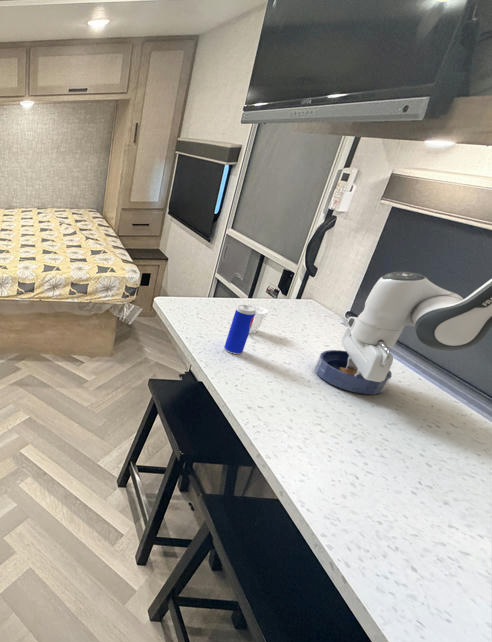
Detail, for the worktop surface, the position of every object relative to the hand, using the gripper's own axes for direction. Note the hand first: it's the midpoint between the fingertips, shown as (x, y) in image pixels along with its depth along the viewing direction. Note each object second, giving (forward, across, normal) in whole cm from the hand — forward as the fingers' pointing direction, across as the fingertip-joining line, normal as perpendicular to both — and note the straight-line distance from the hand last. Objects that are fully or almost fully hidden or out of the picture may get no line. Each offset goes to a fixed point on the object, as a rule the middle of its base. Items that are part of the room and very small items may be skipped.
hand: (352, 376), depth 109 cm
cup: (+2, +23, +22) cm, 32 cm away
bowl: (+2, +2, 0) cm, 3 cm away
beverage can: (+2, +7, +28) cm, 29 cm away
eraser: (+2, 0, 0) cm, 2 cm away
